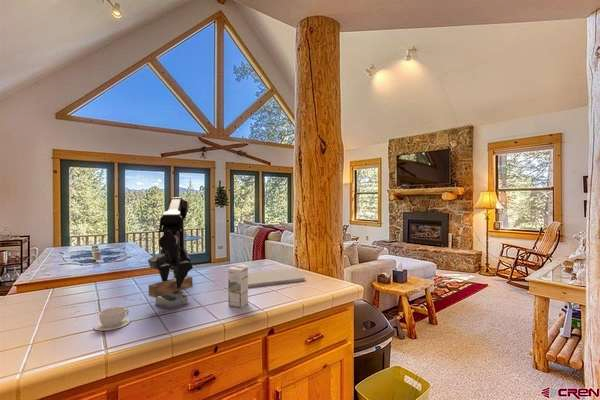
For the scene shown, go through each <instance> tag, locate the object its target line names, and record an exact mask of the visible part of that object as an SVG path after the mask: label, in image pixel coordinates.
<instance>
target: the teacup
mask: <svg viewBox="0 0 600 400" xmlns="http://www.w3.org/2000/svg"><path fill="white" fill-rule="evenodd" d="M127 316H129V309H127V308H126V307H123V306H113V307H109V308H105V309H101V310H100V311H99V312H98V320H99V322H98V323H96V324H95V325H94V326H93V329H94V330H96V331H101V332H102V331H112V330H117V329H119V328H123V327H125V326H126V325H128V324H129V323H130V322H131V319H130V318H127Z"/></svg>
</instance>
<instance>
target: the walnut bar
mask: <svg viewBox="0 0 600 400" xmlns="http://www.w3.org/2000/svg"><path fill="white" fill-rule="evenodd" d="M190 288H193V276H190V275H187V276H186V277H185V279H184V281H183V283H182V285H181V287H180V288H177V283H176V278H175V279H174V278H171V279H167V280H166V281H162V280H161V281H159V282H154V283H151V284H148V296H149V297H152V298H155V299H156V297H159V296H162V295H166V294H169V293H173V292H176V291H180V292H181V291H184V290H187V289H190Z"/></svg>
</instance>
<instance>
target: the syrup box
mask: <svg viewBox="0 0 600 400" xmlns="http://www.w3.org/2000/svg"><path fill="white" fill-rule="evenodd" d="M227 270H228V271H227V274H228V278H227V280H228V281H227V282H228V283H227V284H228V285H227V286H228V296H227V297H228V300H227V301H228V307H233V308H243V307H244V306H247V304H248V303H249V287H248V273H249V267H248V266H246V265H245V266H243V265H233V266H231V267H229V268H228V269H227Z"/></svg>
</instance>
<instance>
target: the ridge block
mask: <svg viewBox="0 0 600 400" xmlns="http://www.w3.org/2000/svg"><path fill="white" fill-rule="evenodd" d="M155 305H158V306H161V307H162V308H166V309H169V310H173V309H175V308H179V307H182V306H186V305H188V295H185V294H184V292H182V291H181V290H180V291H176V292H173V293H169V294H166V295H162V296H159V297H155Z"/></svg>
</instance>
